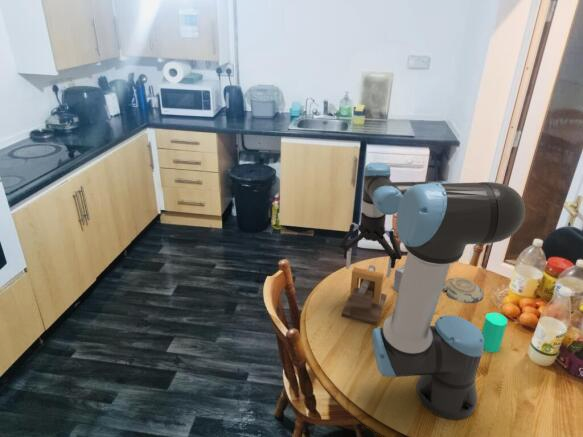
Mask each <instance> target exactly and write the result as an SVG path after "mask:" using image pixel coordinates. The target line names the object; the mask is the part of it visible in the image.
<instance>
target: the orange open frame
mask: <svg viewBox="0 0 583 437" xmlns="http://www.w3.org/2000/svg"><path fill="white" fill-rule="evenodd" d="M384 274H385V273H384V272H380V271H376V270H375V271H371V270H368V269H365V268H361V267H360V268H359V267H356V266H354V267H353V269H352V270H351V280H350V292H349V296H352V293H353V290H354V288H355V287H356V288H360V279H365V280H370V281H374V282H375V289H374V299H373V302H377V303H379V302H380V299H381V293H382V291H383V283H384ZM382 294H383V293H382Z"/></svg>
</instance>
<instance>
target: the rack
mask: <svg viewBox="0 0 583 437" xmlns="http://www.w3.org/2000/svg"><path fill="white" fill-rule="evenodd" d="M367 270H371V271H376V270H377V269H376V266H375V265H369V266H368V268H367ZM374 289H375V282H374V281H370V280H365V279H360V278H359V287H358V288H356V287H355V288H354V290H353V293H352V296H350V295H349V296H348V298H347V300H346V303H345V305H344V307H343V309H342V310H341V316H340V317H342V318H347V319H350V320H355V321H358V322H361V323H362V322H363V323H366V324H369V325H374V326H378V322H379V320H380V317H381V314H382V311H383V308H384V305H385V302H386V299H387V293H381V299H380V302H379V303H377V302H373V299H374Z"/></svg>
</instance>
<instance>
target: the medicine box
mask: <svg viewBox="0 0 583 437" xmlns="http://www.w3.org/2000/svg"><path fill="white" fill-rule="evenodd" d="M404 266H405V264H404V265H402V266H400V267H398V268H396V269H395V271H394V279H393V286H392V287H393V290H395V291H397V292H398V291H399V286H400V282H401V278H402V274H403V270H404Z"/></svg>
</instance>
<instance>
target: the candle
mask: <svg viewBox="0 0 583 437" xmlns="http://www.w3.org/2000/svg"><path fill="white" fill-rule="evenodd" d="M508 321H509V320H508V318H507V317H506V316H504V314H501V313H499V312H490V313H489V312H488V313H486V314H485V319H484V321H483V326H482V330H481V333H482V335H483V337H484V346H483V351H486V352H488V353H498V352H499V351H500V349H501V345H502V342H503V338H504V334H505V331H506V328H507V324H508Z"/></svg>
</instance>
